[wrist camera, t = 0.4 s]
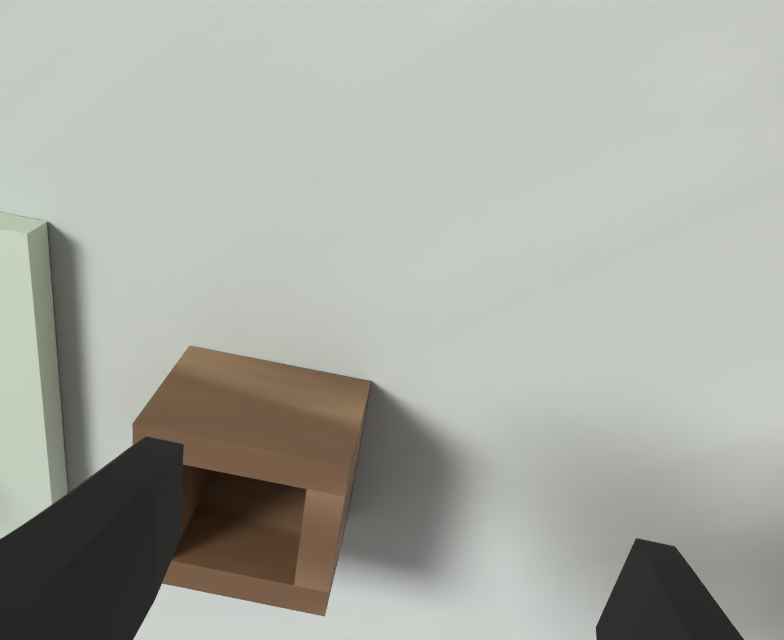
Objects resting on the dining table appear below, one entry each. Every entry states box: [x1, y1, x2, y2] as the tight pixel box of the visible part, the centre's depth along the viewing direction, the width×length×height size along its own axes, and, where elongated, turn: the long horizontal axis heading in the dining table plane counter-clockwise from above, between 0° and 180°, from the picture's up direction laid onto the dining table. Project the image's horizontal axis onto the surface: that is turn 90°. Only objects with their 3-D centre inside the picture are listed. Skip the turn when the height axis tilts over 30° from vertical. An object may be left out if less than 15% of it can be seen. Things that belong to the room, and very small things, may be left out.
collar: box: [133, 346, 371, 616], centre depth 21 cm, size 6×6×4 cm
